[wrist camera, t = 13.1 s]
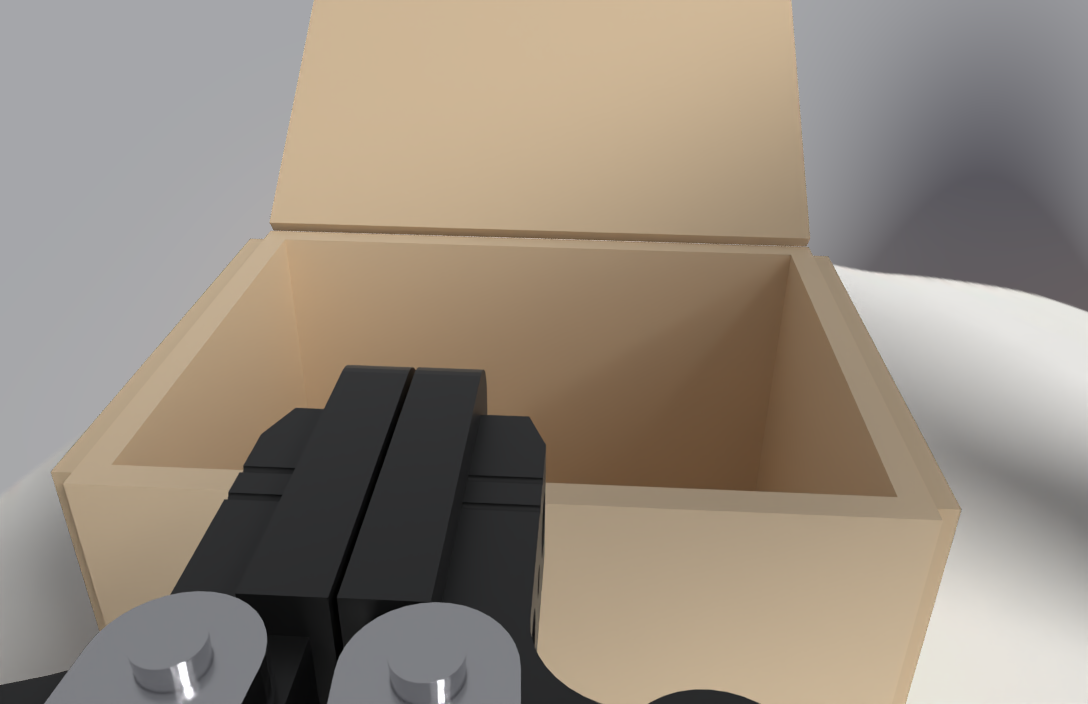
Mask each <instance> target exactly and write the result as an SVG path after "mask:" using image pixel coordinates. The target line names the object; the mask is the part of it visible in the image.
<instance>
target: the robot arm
mask: <svg viewBox="0 0 1088 704" xmlns="http://www.w3.org/2000/svg"><path fill="white" fill-rule="evenodd" d="M545 489H546V444H545V442H544V441H543V439H542V437H541V436H540V434H539V432H538V431H537V429H536V427H535V425H534V424H533V422H532V420H531V419H530V417H529V416H504V415H487V382H486V374H485V370H484V369H456V368H429V367H418V368H417V369H416V370H415V368H413V367H395V366H368V365H346V366H345V367H344V369H343V370H342V372H341V374H340V376H339V379H338V381H337V383H336V385H335V387H334V389H333V391H332V393H331V395H330V397H329V399H328V401H327V403H326V406H325V408H324V409H315V408H295V409H293V410H292V411H291V412H289V413H288V414H287V415H285V416H284V417H283V418H281V419H280V420H279V421H278V422H276V423H275V424H274V425H272V426H271V427H270V428H268V429H267V430H266V431H264V432H263V433H262V434H261V435H260V437H259V439H258V440H257V442H256V444H255V446H254V448H253V449H252V451H251V453H250V455H249V456H248V458H247V460H246V462H245V463H244V465H243V472H239V474H238V476H237V478H236V479H235V481H234V483H233V485H232V486H231V488H230V490H229V492H228V499H224V501H223V502H222V504H221V506H220V508H219V509H218V511H217V513H216V515H215V516H214V518H213V520H212V522H211V524H210V525H209V527H208V529H207V531H206V532H205V534H204V536H203V538H202V539H201V541H200V543H199V545H198V546H197V548H196V550H195V552H194V554H193V555H192V557H191V559H190V561H189V562H188V564H187V566H186V568H185V569H184V571H183V573H182V575H181V577H180V578H179V580H178V582H177V584H176V585H175V587H174V589H173V591H172V592H171V594H170V595H167V596H164V597H160V598H157V599H154V600H151V601H148V602H146V603H144V604H141V605H139V606H137V607H135V608H133V609H131V610H129V611H127V612H126V613H124V614H122V615H120V616H119V617H118V618H116V619H115V620H113V621H112V622H110V623H109V624H108V625H107V626H105V627H104V628H103V629H102V630H101V631H100V632H99V633H98V634H97V635H96V636H95V637H94V638H93V639H92V640H91V641H90V643H89V644H88V645H87V646H86V647H85V649H84V650H83V651H82V653H81V654H80V656H79V657H78V658H77V660H76V661H75V662H74V664H73V665H72V666H71V668H70V669H69V670H68V671H64V672H60V673H56V674H52V675H48V676H43V677H38V678H33V679H28V680H23V681H19V682H14V683H9V684H4V685H0V704H602V703H599V702H596V701H594V700H592V699H589V698H587V697H584V696H582V695H581V694H579V693H577V692H576V691H574V690H572V689H570V688H569V687H568V686H566V685H565V684H564V683H562V682H561V681H560V680H559V679H557V678H556V677H555V676H554V675H553V674H552V673H551V671H550V670H549V669H548V668H547V667H546V666H545V664H544V663H543V661H542V660H541V658H540V657H539V655H538V653H537V645H538V632H539V619H540V607H541V591H542V581H543V568H544V556H545ZM648 704H760V703H758V702H755V701H753V700H751V699H748V698H746V697H743V696H740V695H736V694H733V693H729V692H724V691H717V690H709V689H693V690H686V691H679V692H675V693H672V694H668V695H665V696H662V697H660V698H658V699H656V700H654V701H652V702H650V703H648Z"/></svg>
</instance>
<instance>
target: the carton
mask: <svg viewBox="0 0 1088 704" xmlns="http://www.w3.org/2000/svg"><path fill="white" fill-rule="evenodd" d="M346 365H368V366H395V367H413V368H415V370H416V369H417V368H418V367H429V368H456V369H484V370H485V374H486V382H487V415H504V416H529V417H530V419H531V420H532V422H533V424H534V425H535V427H536V429H537V431H538V432H539V434H540V436H541V437H542V439H543V441H544V442H545V444H546V489H545V556H544V568H543V581H542V591H541V607H540V619H539V632H538V645H537V653H538V655H539V657H540V658H541V660H542V661H543V663H544V664H545V666H546V667H547V668H548V669H549V670H550V671H551V673H552V674H553V675H554V676H555V677H556V678H557V679H559V680H560V681H561V682H562V683H564V684H565V685H566V686H568V687H569V688H570V689H572V690H574V691H576V692H577V693H579V694H581V695H582V696H584V697H587V698H589V699H592V700H594V701H596V702H599V703H602V704H648V703H650V702H652V701H654V700H656V699H658V698H660V697H662V696H665V695H668V694H672V693H675V692H679V691H686V690H693V689H709V690H717V691H724V692H729V693H733V694H736V695H740V696H743V697H746V698H748V699H751V700H753V701H755V702H758V703H760V704H906V700H907V697H908V693H909V690H910V686H911V683H912V680H913V676H914V673H915V669H916V666H917V662H918V659H919V655H920V652H921V648H922V645H923V641H924V638H925V634H926V631H927V627H928V624H929V620H930V617H931V614H932V610H933V607H934V603H935V600H936V596H937V593H938V589H939V586H940V582H941V579H942V575H943V572H944V568H945V565H946V561H947V558H948V555H949V551H950V548H951V544H952V541H953V537H954V534H955V530H956V527H957V523H958V520H959V516H960V513H961V508H960V506H959V504H958V502H957V500H956V498H955V497H954V495H953V493H952V491H951V489H950V487H949V485H948V483H947V481H946V479H945V478H944V476H943V474H942V472H941V470H940V468H939V466H938V464H937V462H936V460H935V459H934V457H933V455H932V453H931V451H930V449H929V447H928V445H927V443H926V441H925V439H924V438H923V436H922V434H921V432H920V430H919V428H918V426H917V424H916V422H915V420H914V419H913V417H912V415H911V413H910V411H909V409H908V407H907V405H906V403H905V401H904V400H903V398H902V396H901V394H900V392H899V390H898V388H897V386H896V384H895V382H894V381H893V379H892V377H891V375H890V373H889V371H888V369H887V367H886V365H885V363H884V361H883V360H882V358H881V356H880V354H879V352H878V350H877V348H876V346H875V344H874V342H873V341H872V339H871V337H870V335H869V333H868V331H867V329H866V327H865V325H864V323H863V322H862V320H861V318H860V316H859V314H858V312H857V310H856V308H855V306H854V304H853V303H852V301H851V299H850V297H849V295H848V293H847V291H846V289H845V287H844V285H843V283H842V282H841V280H840V278H839V276H838V274H837V272H836V270H835V268H834V266H833V264H832V263H831V261H830V259H829V257H828V256H813V255H812V253H811V251H810V249H809V247H792V246H758V245H725V244H692V243H658V242H625V241H592V240H559V239H525V238H492V237H459V236H426V235H392V234H359V233H326V232H293V231H270V233H269V234H268V235H267V236H266V237H265V238H264V239H250V240H249V241H248V242H247V243H246V244H245V246H244V247H243V248H242V249H241V250H240V251H239V253H238V254H237V255H236V256H235V257H234V259H233V260H232V261H231V262H230V263H229V264H228V265H227V267H226V268H225V269H224V270H223V271H222V272H221V274H220V275H219V276H218V277H217V278H216V279H215V281H214V282H213V283H212V284H211V285H210V286H209V288H208V289H207V290H206V291H205V292H204V293H203V295H202V296H201V297H200V298H199V299H198V301H197V302H196V303H195V304H194V305H193V306H192V307H191V309H190V310H189V311H188V312H187V313H186V314H185V316H184V317H183V318H182V319H181V320H180V322H179V323H178V324H177V325H176V326H175V327H174V328H173V330H172V331H171V332H170V333H169V334H168V336H167V337H166V338H165V339H164V340H163V341H162V343H161V344H160V345H159V346H158V347H157V348H156V350H155V351H154V352H153V353H152V354H151V355H150V357H149V358H148V359H147V360H146V361H145V362H144V364H143V365H142V366H141V367H140V369H138V371H137V372H136V373H135V374H134V375H133V376H132V378H131V379H130V380H129V381H128V382H127V383H126V385H125V386H124V387H123V388H122V389H121V390H120V392H119V393H118V394H117V395H116V396H115V397H114V399H113V400H112V401H111V402H110V403H109V405H108V406H107V407H106V408H105V409H104V410H103V411H102V413H101V414H100V415H99V416H98V417H97V418H96V420H95V421H94V422H93V423H92V424H91V425H90V427H89V428H88V429H87V430H86V431H85V432H84V434H83V435H82V436H81V437H80V438H79V439H78V441H77V442H76V443H75V444H74V445H73V446H72V448H71V449H70V450H69V451H68V452H67V453H66V455H65V456H64V457H63V458H62V459H61V460H60V462H59V463H58V464H57V465H56V466H55V467H54V469H53V470H52V471H51V474H52V477H53V481H54V484H55V487H56V490H57V494H58V497H59V500H60V503H61V507H62V510H63V513H64V517H65V520H66V523H67V526H68V530H69V533H70V536H71V539H72V543H73V546H74V549H75V553H76V556H77V559H78V562H79V566H80V569H81V572H82V575H83V579H84V582H85V585H86V589H87V592H88V595H89V598H90V602H91V605H92V608H93V611H94V615H95V618H96V621H97V625H98V628H99V631H101V630H102V629H103V628H104V627H105V626H107V625H108V624H109V623H110V622H112V621H113V620H115V619H116V618H118V617H119V616H120V615H122V614H124V613H126V612H127V611H129V610H131V609H133V608H135V607H137V606H139V605H141V604H144V603H146V602H148V601H151V600H154V599H157V598H160V597H164V596H167V595H170V594H171V592H172V591H173V589H174V587H175V585H176V584H177V582H178V580H179V578H180V577H181V575H182V573H183V571H184V569H185V568H186V566H187V564H188V562H189V561H190V559H191V557H192V555H193V554H194V552H195V550H196V548H197V546H198V545H199V543H200V541H201V539H202V538H203V536H204V534H205V532H206V531H207V529H208V527H209V525H210V524H211V522H212V520H213V518H214V516H215V515H216V513H217V511H218V509H219V508H220V506H221V504H222V502H223V501H224V499H228V492H229V490H230V488H231V486H232V485H233V483H234V481H235V479H236V478H237V476H238V474H239V472H243V465H244V463H245V462H246V460H247V458H248V456H249V455H250V453H251V451H252V449H253V448H254V446H255V444H256V442H257V440H258V439H259V437H260V435H261V434H262V433H263V432H264V431H266V430H267V429H268V428H270V427H271V426H272V425H274V424H275V423H276V422H278V421H279V420H280V419H281V418H283V417H284V416H285V415H287V414H288V413H289V412H291V411H292V410H293V409H295V408H315V409H324V408H325V406H326V403H327V401H328V399H329V397H330V395H331V393H332V391H333V389H334V387H335V385H336V383H337V381H338V379H339V376H340V374H341V372H342V370H343V369H344V367H345V366H346Z"/></svg>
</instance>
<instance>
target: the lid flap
mask: <svg viewBox="0 0 1088 704" xmlns="http://www.w3.org/2000/svg"><path fill="white" fill-rule="evenodd" d="M805 182H806V181H805V168H804V157H803V143H802V131H801V117H800V105H799V92H798V79H797V67H796V54H795V42H794V29H793V16H792V4H791V0H314V3H313V9H312V13H311V18H310V24H309V29H308V33H307V38H306V44H305V48H304V54H303V58H302V64H301V68H300V74H299V78H298V83H297V88H296V93H295V98H294V103H293V108H292V113H291V118H290V123H289V128H288V133H287V138H286V143H285V149H284V153H283V158H282V164H281V169H280V173H279V178H278V183H277V188H276V193H275V198H274V203H273V208H272V213H271V218H270V224H271V226H272V228H273V230H276V231H310V232H343V233H376V234H410V235H443V236H476V237H509V238H543V239H576V240H609V241H643V242H676V243H709V244H742V245H777V246H807V244H808V242H809V240H810V232H809V219H808V206H807V194H806V183H805Z"/></svg>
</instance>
